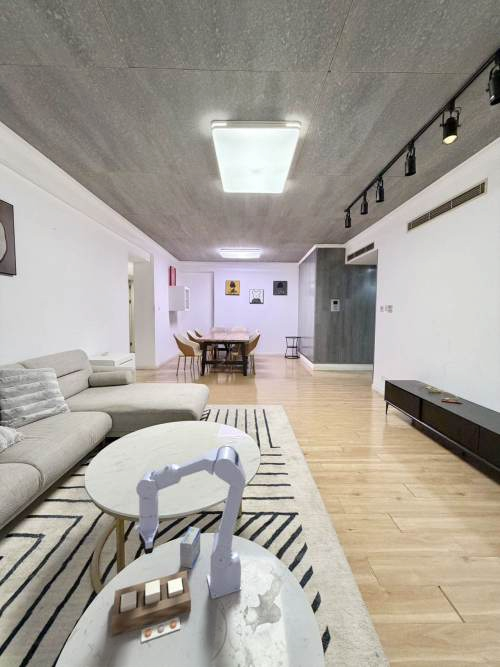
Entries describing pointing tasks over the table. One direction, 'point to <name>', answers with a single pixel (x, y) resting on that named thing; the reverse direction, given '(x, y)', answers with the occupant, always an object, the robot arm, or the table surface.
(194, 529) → the medicine box
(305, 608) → the table surface
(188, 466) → the robot arm
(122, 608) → the button
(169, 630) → the pattern card
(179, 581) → the button
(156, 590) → the button middle
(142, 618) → the board
